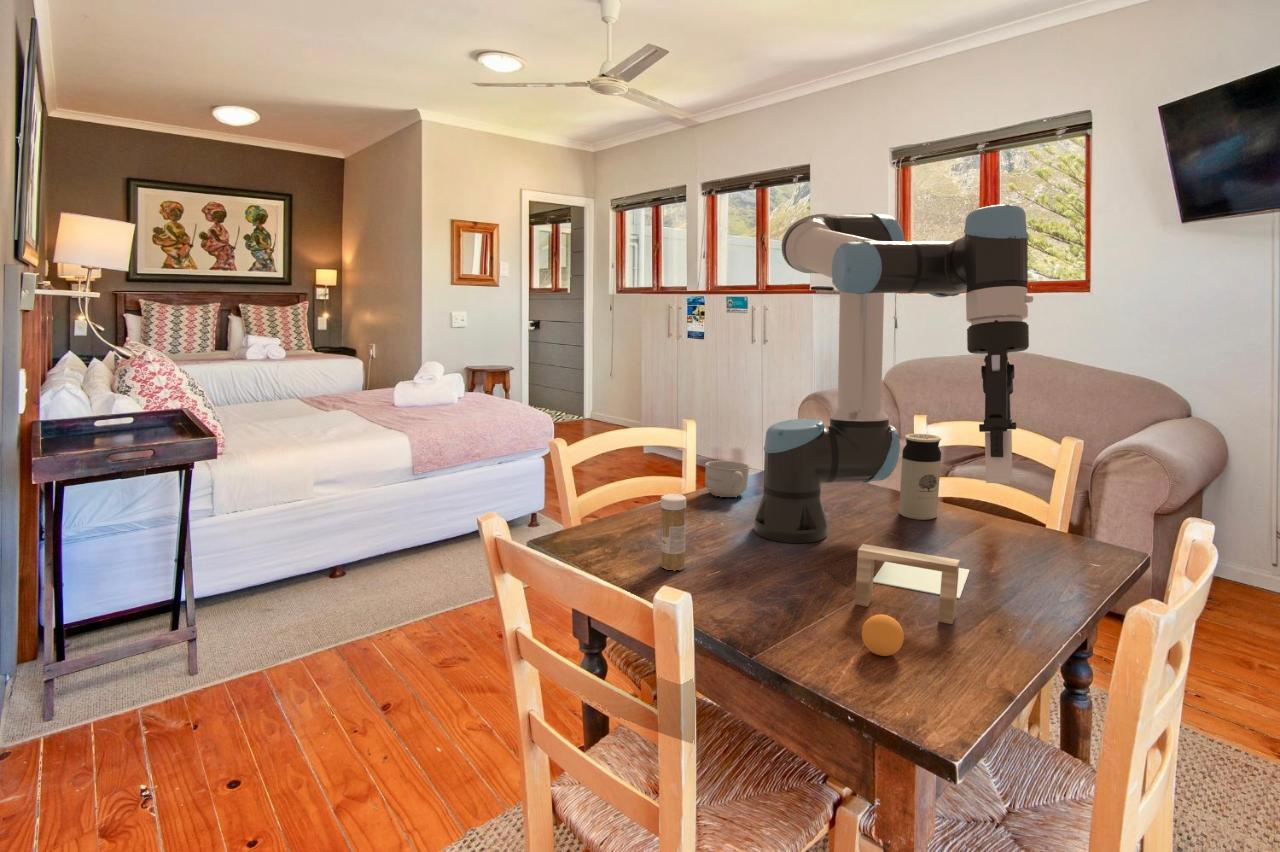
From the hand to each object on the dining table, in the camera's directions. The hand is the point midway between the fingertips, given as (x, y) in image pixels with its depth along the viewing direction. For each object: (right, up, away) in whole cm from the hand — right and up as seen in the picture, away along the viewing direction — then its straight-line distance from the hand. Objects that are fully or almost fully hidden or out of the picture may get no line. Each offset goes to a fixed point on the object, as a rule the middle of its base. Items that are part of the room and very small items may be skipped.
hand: (999, 479), depth 99 cm
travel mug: (+13, -13, +64) cm, 66 cm away
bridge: (-7, -22, +15) cm, 28 cm away
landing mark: (+1, -19, +29) cm, 35 cm away
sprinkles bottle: (-43, -19, +34) cm, 58 cm away
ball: (-16, -22, +1) cm, 27 cm away
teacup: (-27, -10, +79) cm, 85 cm away
